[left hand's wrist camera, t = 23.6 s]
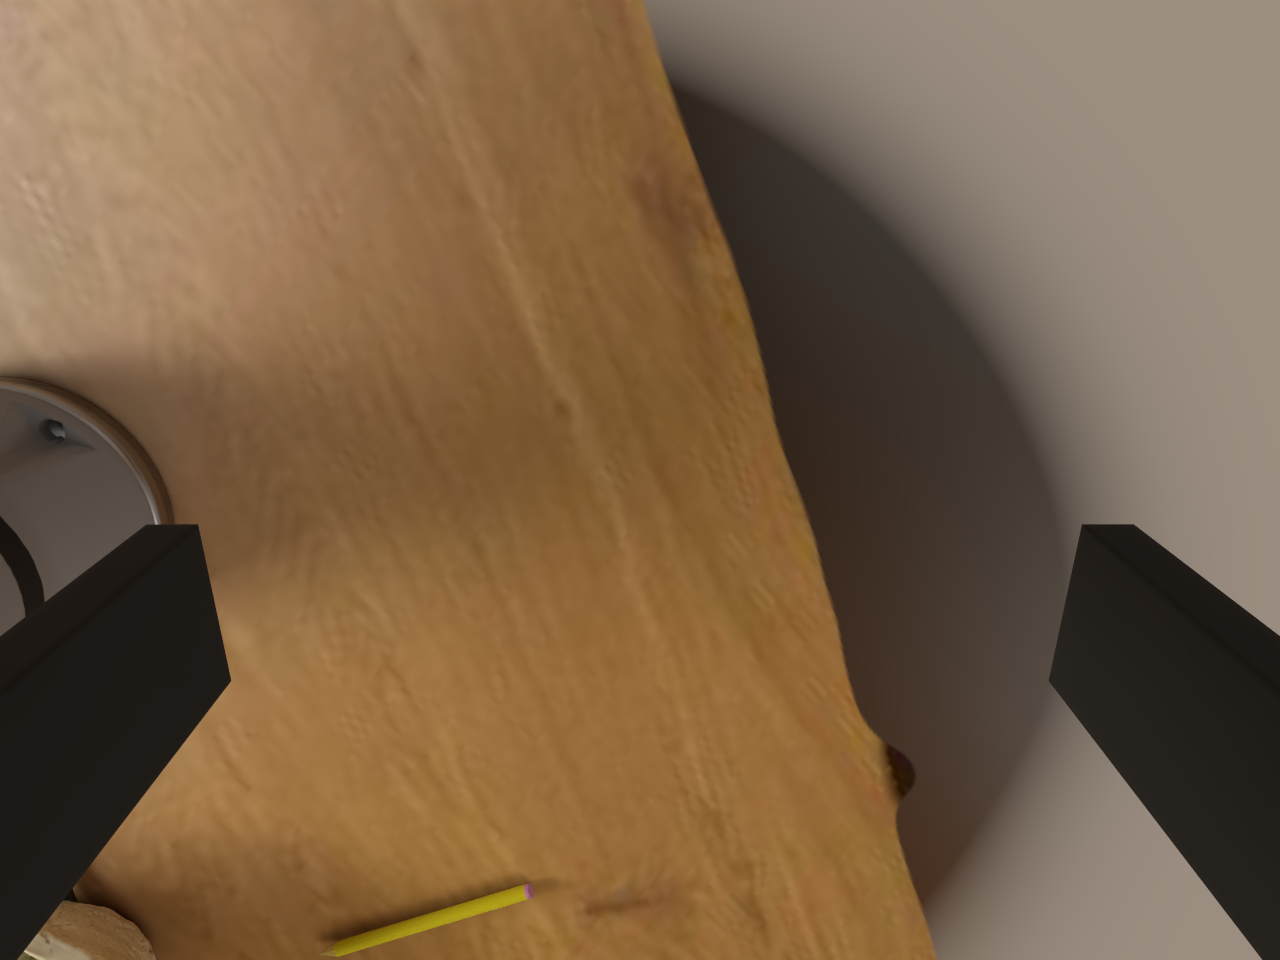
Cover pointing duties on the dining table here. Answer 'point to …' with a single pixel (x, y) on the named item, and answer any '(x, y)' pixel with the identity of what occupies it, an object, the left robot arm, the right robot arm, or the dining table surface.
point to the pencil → (430, 920)
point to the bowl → (88, 936)
